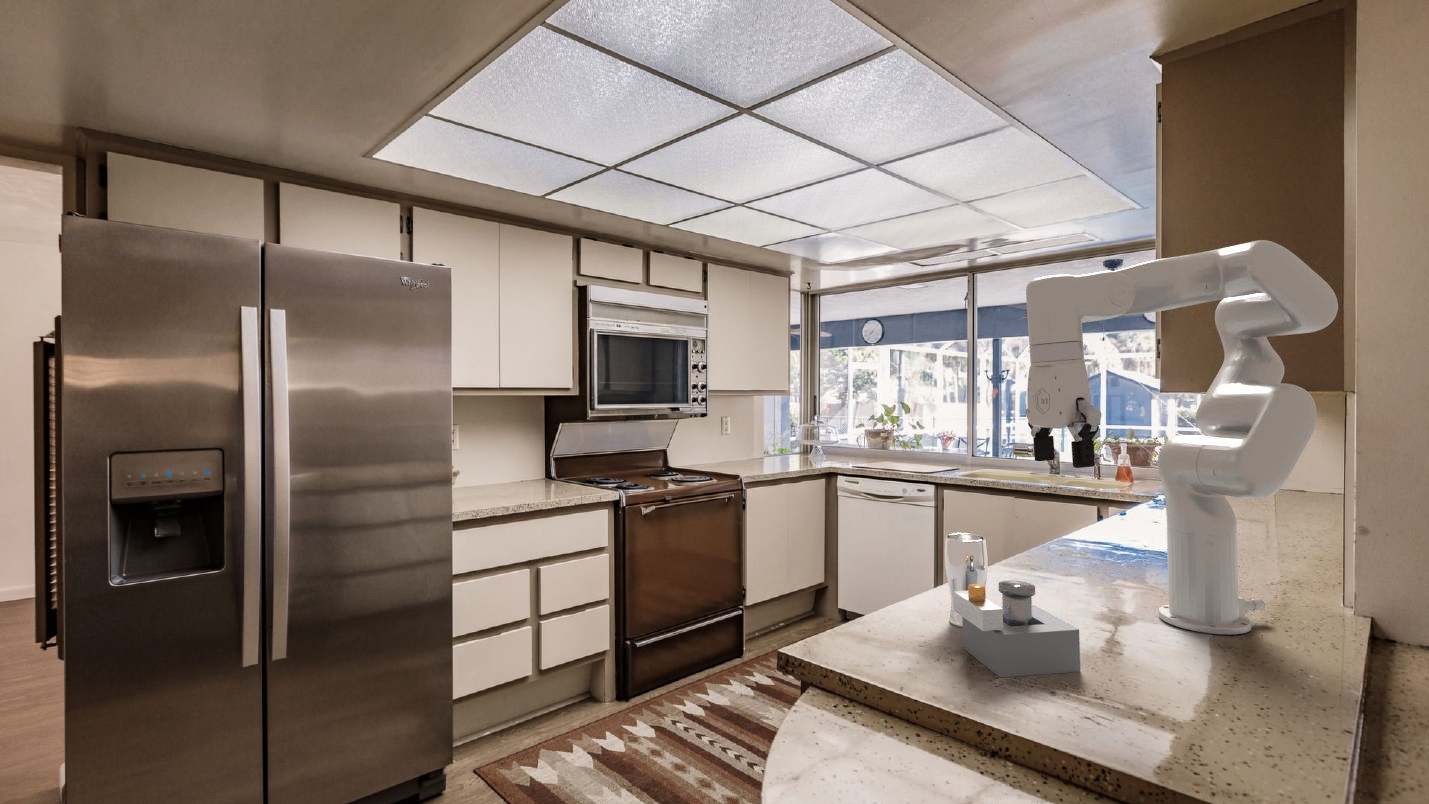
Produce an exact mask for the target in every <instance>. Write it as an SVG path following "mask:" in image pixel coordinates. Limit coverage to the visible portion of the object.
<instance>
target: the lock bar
mask: <svg viewBox="0 0 1429 804" xmlns="http://www.w3.org/2000/svg"><path fill="white" fill-rule="evenodd" d="M986 597H987V596H986V586H983V585H979V584H970V585H968V591H954V611H955V612H957V613H958V614H960V615H961V616H962V617H964V618H965V619H967V620H968V621H969V622H971V623H972V624H974V625H975V626H976V627H978V628H979V629H981V630H982V631H994V630H1003V609H1002V608H1000V606H999V605H997V604H995V603H994V602H992V601H990V600H989V599H987V598H986Z"/></svg>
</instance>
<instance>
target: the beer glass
mask: <svg viewBox="0 0 1429 804" xmlns="http://www.w3.org/2000/svg"><path fill="white" fill-rule="evenodd" d="M986 539H987V538H986V537H985V536H984V535H981V534H977V533H969V532H968V533H967V532H963V533H962V532H954V533H948V534H946V535H945V540H944V542H945V544H944V545H945V547H944V567H945V573H946V579H947V583H948V588H949V594H950V601H951V603H950V604H951V605H950V612H949V613H950V614H949V623H951V625H952V626H955V627H957V628H958V627H959V628H962V629H963V624H962V616H961V615H960V614H958V613H957V612H955V611H954V591H968V585H970V584H979V585H983V586H985V587H986V586H987V579H988V571H989V570H988V569H989V568H988V562H989V561H988V551H987V549H988V548H987V542H986Z"/></svg>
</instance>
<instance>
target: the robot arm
mask: <svg viewBox="0 0 1429 804" xmlns="http://www.w3.org/2000/svg"><path fill="white" fill-rule="evenodd" d="M1025 295H1026V296H1025V298H1026V299H1025V300H1026V315H1027V330H1028V346H1029V348H1028V349H1029V360H1030V366H1029V368H1028V377H1027V392H1026V393H1027V394H1026V395H1027V397H1026V400H1027V401H1026V402H1027V405H1026V407H1027V408H1026V409H1025V411H1024V413H1025V417H1026V418H1027V425H1028V426H1029V428H1030V435H1031V437H1032V438H1033V439H1032V441H1033V453H1034V454H1033V455H1034V461H1036V462H1044V461H1047V462H1048V461H1054V460H1055V458H1056V457H1055V443H1054V442H1055V439H1054V435H1051V434H1052V432H1053V429H1061V430H1062V429H1065V428H1067V429H1068V431H1069V433H1070V435H1071V436H1072V438H1073V440H1072V441H1071V443H1070V445H1071V458H1072V459H1071V460H1072V467H1073V468H1076V469H1080V468H1083V469H1084V468H1090V467H1095V465H1096V461H1095V460H1096V459H1095V457H1096V456H1095V444H1094V443H1095V442H1094V441H1096V440H1097V433H1098V431H1099V429H1100V426H1099V425H1100V422H1101V420H1102V419H1101V418H1102V415H1103V414H1102V412H1101V411H1100V410H1099V409H1098V408H1096V407H1095V406H1093V405H1092V397H1091V395H1092V394H1091V389H1090V383H1089V378H1088V377H1089V376H1088V372H1087V368H1086V367H1087V366H1086V365H1085V350H1084V338H1083V335H1084V334H1083V323H1089V322H1098V321H1099V322H1100V321H1105V320H1111V319H1115V318H1118V317H1119V316H1130V315H1144V314H1151V313H1157V312H1162V311H1163V312H1164V311H1170V310H1175V309H1179V308H1185V307H1189V306H1194V305H1200V304H1205V303H1210V302H1215V301H1220V302H1219V303H1218V305H1217V307H1216V309H1215V313H1214V323H1215V327H1216V330H1217V332H1218V334H1219V338H1220V340H1221V345H1222V347H1223V353H1224V359H1223V363H1222V365H1221V366H1220V369H1219V370H1218V373H1217V374H1216V376H1215V377H1214V379H1213V381H1212V382H1211V384H1210V386H1209V388H1208V390H1207V391H1206V393H1205V394H1204V396H1203V397H1202V400H1201V401H1200V403H1199V405H1198V408H1197V410H1196V413H1195V424H1196V425H1197V428H1198V429H1199V431H1201V432H1202V433H1203V434H1205V435H1203V434H1186V435H1180V436H1176V437H1174V438H1171V439H1169V440H1168V441H1166V443H1164V444H1163V445H1162V447H1161V449H1160V450H1159V452H1158V456H1157V466H1158V467H1157V469H1158V473H1159V477H1160V481H1161V485H1162V488H1163V489H1162V490H1163V494H1164V498H1165V499H1164V500H1165V509H1166V510H1165V511H1166V513H1165V514H1166V544H1167V545H1166V547H1167V549H1166V550H1167V579H1168V580H1167V583H1168V589H1167V590H1168V604H1165V605H1162V606H1160V607H1159V608H1158V610H1157V612H1158V613H1157V616H1158V617H1159V618H1160V619H1161V620H1162V621H1163V622H1165V623H1168V624H1170V625H1171V626H1175V627H1177V628H1181V629H1185V630H1190V631H1192V632H1193V631H1194V632H1198V633H1203V634H1213V635H1228V636H1230V635H1240V634H1241V635H1242V634H1245V633H1248V632H1250V631H1251V630H1252V628H1253V626H1252V621H1251V620H1250V619H1249V618H1248V617H1246V616H1245V615H1246V613H1248V612H1249V611H1253V612H1256V611H1263V610H1265V608H1266V604H1265V601H1264V600H1263V598H1262V599H1261V598H1259V597H1258V598H1257V597H1256V598H1247V599H1245V598H1244V597H1243V596H1240V595H1239V569H1238V568H1239V567H1238V565H1239V564H1238V524H1237V518H1236V514H1235V512H1234V510H1233V508H1232V505H1231V504H1230V502H1229V500H1228V499H1227V498H1226V496H1227V497H1235V498H1236V497H1237V498H1241V499H1250V500H1251V499H1252V500H1254V499H1255V500H1261V499H1267V498H1270V497H1272V496H1274V495H1275V494H1276V493H1278V492H1279V491H1281V489H1282V488H1283V487H1284V485H1285V483H1286V482H1287V480H1288V479H1289V476H1290V475H1291V473H1292V471H1293V470H1294V468H1295V466H1296V464H1297V462H1298V461H1299V459H1300V457H1301V456H1302V454H1303V452H1304V450H1305V448H1306V447H1307V445H1308V443H1309V441H1310V440H1311V437H1312V435H1313V433H1314V431H1315V428H1316V426H1317V419H1318V418H1317V417H1318V416H1317V415H1318V413H1317V410H1318V409H1317V406H1316V405H1317V404H1316V403H1315V400H1314V397H1313V396H1312V394H1311V393H1310V392H1308V391H1307V390H1306V389H1305V388H1303V387H1302V386H1301V387H1300V386H1299V385H1296V384H1292V383H1282V380H1283V378H1284V376H1285V365H1284V363H1283V360H1282V358H1281V357H1280V355H1279V354H1278V353H1277V352H1276V350H1275V349H1274V347H1272V345H1271V343H1270V342H1269V339H1268V337H1277V336H1288V335H1289V336H1290V335H1300V334H1308V333H1315V332H1317V331H1321V330H1323V329H1325V328H1327V327H1328V326H1329V325H1331V323H1332V322H1333V321H1334V320H1335V319H1336V317H1337V314H1338V312H1339V311H1338V310H1339V304H1338V298H1337V296H1336V293H1335V292H1334V289H1333V288H1332V287H1331V286H1330V285H1329V283H1328V282H1327V281H1326V280H1324V278H1322V276H1320V275H1319V274H1318V273H1317V272H1315V271H1314V270H1313V269H1312V268H1311V267H1310V266H1309V265H1308V264H1306V263H1305V262H1304V261H1303V260H1302V259H1301V258H1300V257H1298V255H1296V254H1294V253H1293V252H1292V251H1290V250H1289V249H1288V248H1286V247H1285V246H1283V245H1281V244H1278V243H1276V242H1274V241H1270V240H1268V239H1267V240H1266V239H1264V240H1263V239H1260V240H1259V239H1258V240H1254V241H1253V240H1252V241H1249V242H1245V243H1240V244H1236V245H1232V246H1231V245H1230V246H1227V247H1223V248H1217V249H1213V250H1208V251H1202V252H1195V253H1190V254H1185V255H1178V256H1172V257H1167V258H1165V257H1164V258H1160V259H1159V258H1158V259H1155V260H1151V261H1145V262H1142V263H1138V264H1136V265H1135V264H1134V265H1132V266H1128V267H1125V268H1122V269H1118V270H1114V271H1113V270H1104V271H1099V272H1094V273H1088V274H1082V275H1081V274H1080V275H1073V274H1056V275H1048V276H1042V277H1038V278H1034V279H1033V280H1030V281H1029V282H1028V283H1027V286H1026V289H1025ZM1079 429H1080V430H1079Z"/></svg>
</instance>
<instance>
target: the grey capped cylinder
mask: <svg viewBox="0 0 1429 804" xmlns="http://www.w3.org/2000/svg"><path fill="white" fill-rule="evenodd" d="M998 592H999V593H1000V594H1002V597H1001V598H1002V599H1001V600H1002V601H1001V602H1002V607H1003V622H1004V623H1005V624H1007V625H1009V626H1010V627H1012V626H1027V625H1032V605H1033V604H1032V600H1033V597H1034V596H1035V595H1036V586H1035V585H1034V584H1032V583H1031V582H1026V581H1022V580H1011V579H1010V580H1001V581H1000V582H998Z"/></svg>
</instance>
